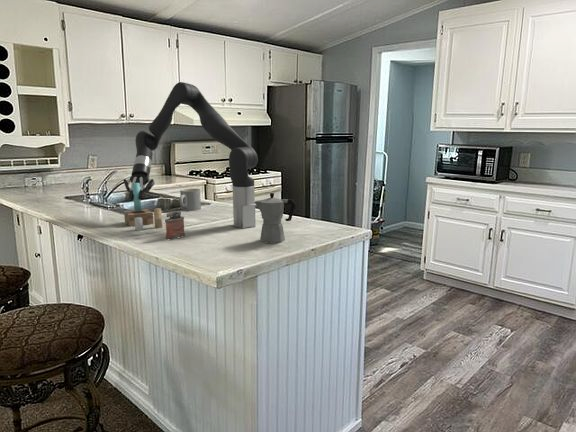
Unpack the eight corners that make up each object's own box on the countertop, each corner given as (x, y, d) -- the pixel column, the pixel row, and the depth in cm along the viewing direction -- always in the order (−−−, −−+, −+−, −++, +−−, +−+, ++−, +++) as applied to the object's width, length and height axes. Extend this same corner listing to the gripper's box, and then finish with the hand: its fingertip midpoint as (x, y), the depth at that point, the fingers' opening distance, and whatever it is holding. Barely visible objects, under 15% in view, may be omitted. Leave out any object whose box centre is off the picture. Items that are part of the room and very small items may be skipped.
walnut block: (153, 223, 189) (152, 212, 188) (129, 226, 184) (128, 215, 183) (147, 219, 197) (146, 209, 196) (124, 222, 192) (123, 211, 191)
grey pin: (143, 230, 178) (143, 218, 177) (136, 231, 176) (135, 219, 175) (142, 228, 180) (141, 217, 179) (134, 229, 179) (133, 217, 178)
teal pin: (142, 210, 189) (140, 183, 187) (135, 211, 188) (133, 183, 185) (140, 209, 192) (138, 182, 189) (133, 210, 190) (131, 183, 188)
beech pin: (163, 227, 182) (161, 209, 180) (156, 228, 180) (154, 209, 179) (161, 226, 184) (159, 207, 183) (154, 227, 183) (152, 208, 181)
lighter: (181, 234, 170) (180, 209, 168) (187, 235, 168) (185, 210, 166) (164, 238, 164) (162, 213, 162) (169, 240, 162) (168, 214, 160)
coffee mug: (191, 206, 229) (190, 187, 227) (205, 208, 223) (204, 189, 221) (171, 210, 218) (170, 191, 216) (185, 212, 212) (184, 192, 210)
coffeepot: (253, 243, 157) (252, 195, 153) (255, 237, 166) (254, 190, 162) (296, 243, 156) (296, 194, 153) (295, 237, 166) (295, 190, 162)
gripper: (123, 162, 192) (116, 194, 183) (155, 162, 193) (149, 193, 183) (128, 173, 199) (121, 204, 189) (159, 173, 199) (154, 203, 190)
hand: (135, 198), depth 186 cm, fingers closed on teal pin, 3 cm apart
